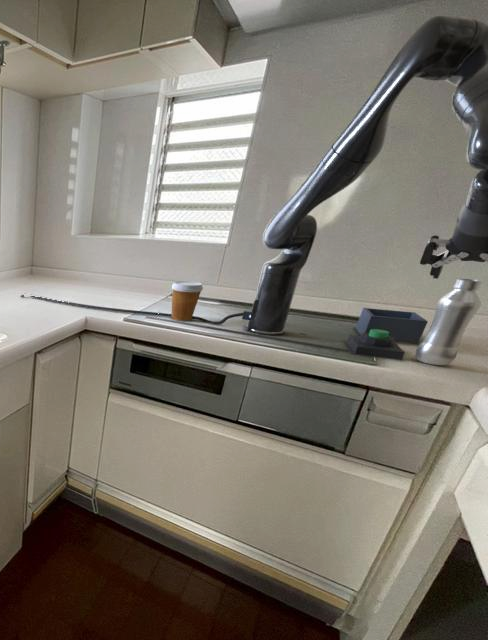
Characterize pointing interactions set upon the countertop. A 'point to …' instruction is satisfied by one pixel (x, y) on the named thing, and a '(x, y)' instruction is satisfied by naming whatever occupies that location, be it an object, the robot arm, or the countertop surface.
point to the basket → (393, 324)
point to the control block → (375, 346)
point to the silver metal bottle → (450, 323)
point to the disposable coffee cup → (184, 299)
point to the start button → (378, 333)
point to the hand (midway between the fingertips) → (466, 277)
